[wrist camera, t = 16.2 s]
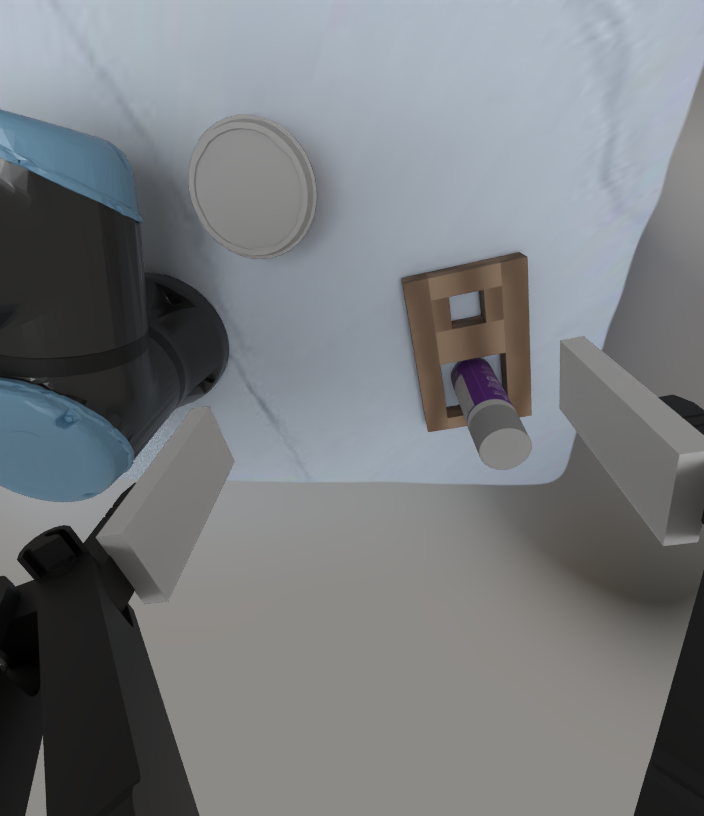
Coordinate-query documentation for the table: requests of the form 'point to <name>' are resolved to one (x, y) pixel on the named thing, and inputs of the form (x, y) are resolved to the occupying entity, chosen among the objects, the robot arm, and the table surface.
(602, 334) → the table surface
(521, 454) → the container
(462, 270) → the socket board
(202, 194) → the disposable coffee cup
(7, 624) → the robot arm
